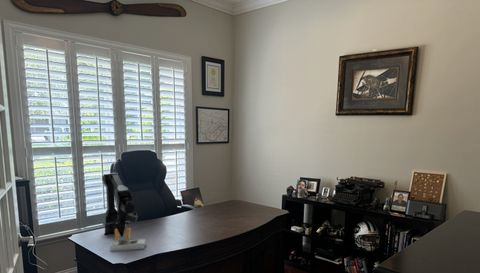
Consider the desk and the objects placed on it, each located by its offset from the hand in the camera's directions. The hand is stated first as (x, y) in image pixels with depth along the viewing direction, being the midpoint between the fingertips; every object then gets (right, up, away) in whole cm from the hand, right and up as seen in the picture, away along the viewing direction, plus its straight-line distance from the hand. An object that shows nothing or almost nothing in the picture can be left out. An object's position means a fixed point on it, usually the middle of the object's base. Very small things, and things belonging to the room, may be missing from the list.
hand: (122, 235), depth 169 cm
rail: (+7, -4, -8) cm, 11 cm away
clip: (0, -2, 0) cm, 2 cm away
